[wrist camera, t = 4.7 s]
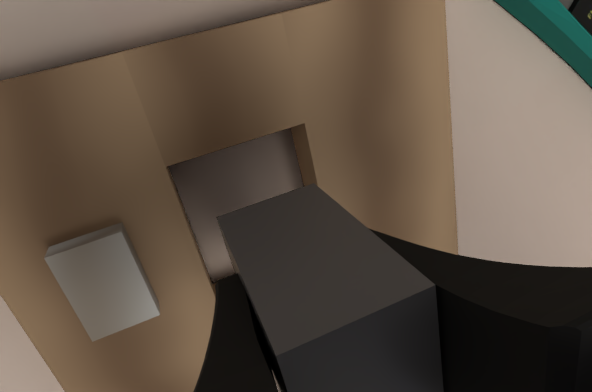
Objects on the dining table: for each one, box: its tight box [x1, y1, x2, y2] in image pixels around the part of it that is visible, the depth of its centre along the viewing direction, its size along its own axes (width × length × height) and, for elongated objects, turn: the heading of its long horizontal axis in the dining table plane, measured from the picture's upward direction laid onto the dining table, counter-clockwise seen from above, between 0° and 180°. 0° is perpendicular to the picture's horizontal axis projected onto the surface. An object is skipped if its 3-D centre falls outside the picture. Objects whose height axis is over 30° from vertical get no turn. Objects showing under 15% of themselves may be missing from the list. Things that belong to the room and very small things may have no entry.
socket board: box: [0, 0, 458, 392], centre depth 16 cm, size 18×14×3 cm
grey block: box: [217, 183, 444, 392], centre depth 11 cm, size 3×4×6 cm
